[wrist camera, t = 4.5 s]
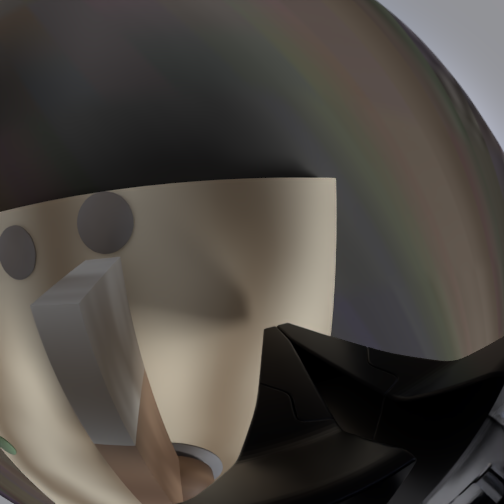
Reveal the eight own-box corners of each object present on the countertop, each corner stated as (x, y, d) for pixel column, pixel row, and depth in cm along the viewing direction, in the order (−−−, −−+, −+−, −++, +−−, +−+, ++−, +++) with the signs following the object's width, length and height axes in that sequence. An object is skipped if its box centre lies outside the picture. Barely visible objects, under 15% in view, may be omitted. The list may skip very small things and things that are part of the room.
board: (320, 178, 10) (337, 177, 9) (296, 491, 16) (301, 502, 15) (-77, 237, 6) (-90, 241, 4) (60, 496, 11) (58, 506, 10)
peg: (217, 485, 11) (230, 536, 8) (151, 488, 10) (154, 539, 7) (165, 250, 8) (151, 298, 4) (53, 261, 7) (-13, 306, 3)
